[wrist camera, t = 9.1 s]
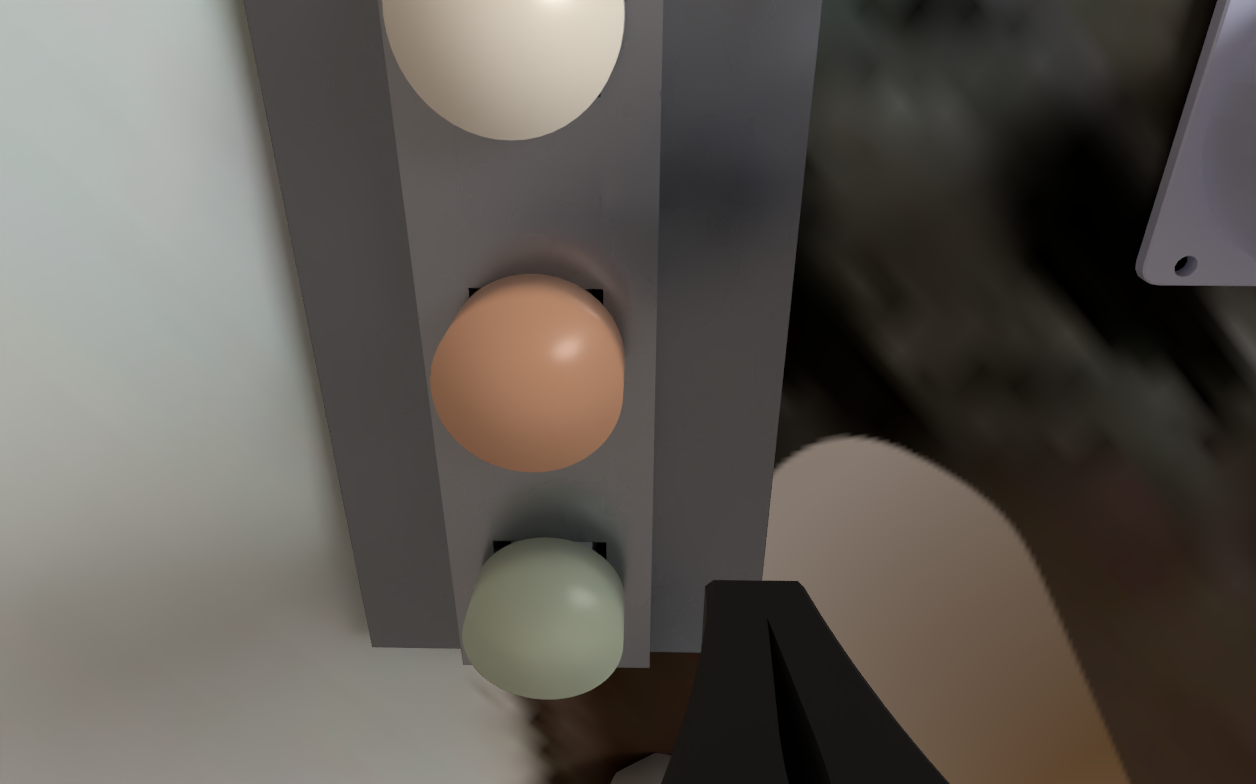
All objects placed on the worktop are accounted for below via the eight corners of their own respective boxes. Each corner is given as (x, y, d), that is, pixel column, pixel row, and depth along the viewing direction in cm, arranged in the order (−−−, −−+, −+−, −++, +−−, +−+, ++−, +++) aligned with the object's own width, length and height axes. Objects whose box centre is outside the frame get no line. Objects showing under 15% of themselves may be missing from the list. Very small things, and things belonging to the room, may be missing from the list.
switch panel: (834, -218, 15) (868, -256, 13) (750, 630, 25) (761, 694, 23) (223, -217, 15) (149, -254, 13) (381, 623, 25) (355, 687, 23)
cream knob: (628, -99, 16) (622, -129, 12) (628, 110, 18) (622, 141, 14) (431, -100, 16) (365, -128, 12) (451, 109, 18) (398, 139, 14)
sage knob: (627, 481, 22) (623, 580, 18) (627, 590, 24) (623, 700, 20) (486, 479, 22) (454, 578, 18) (497, 588, 24) (469, 698, 20)
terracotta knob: (627, 239, 19) (623, 300, 15) (627, 387, 21) (623, 473, 17) (463, 239, 19) (419, 299, 15) (477, 385, 21) (440, 471, 17)
